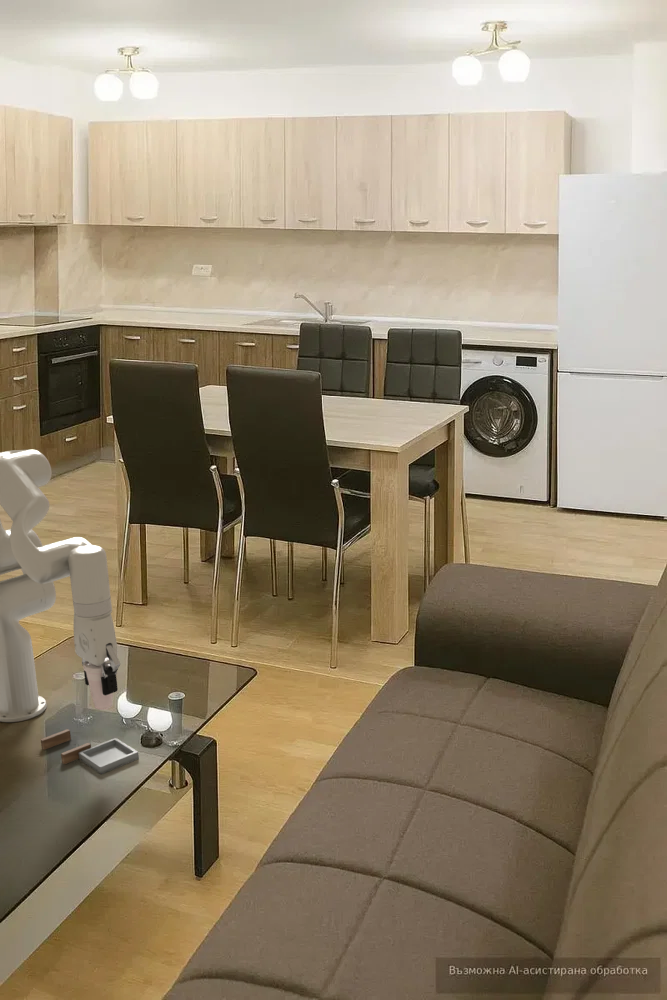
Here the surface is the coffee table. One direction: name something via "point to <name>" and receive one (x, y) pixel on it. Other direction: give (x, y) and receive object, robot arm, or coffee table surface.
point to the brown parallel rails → (62, 738)
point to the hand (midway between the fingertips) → (101, 687)
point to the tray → (108, 755)
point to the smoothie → (97, 686)
